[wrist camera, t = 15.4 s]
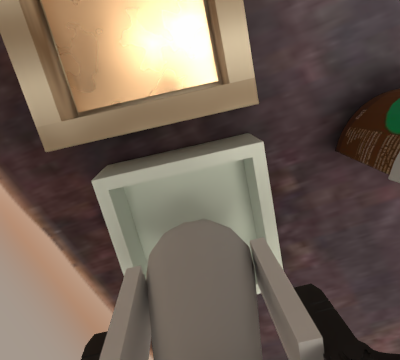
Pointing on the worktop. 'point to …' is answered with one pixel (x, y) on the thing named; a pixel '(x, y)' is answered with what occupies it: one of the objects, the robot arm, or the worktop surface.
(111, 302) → the worktop surface
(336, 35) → the worktop surface
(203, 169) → the bin
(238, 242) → the salt shaker
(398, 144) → the food container
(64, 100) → the beige square tray
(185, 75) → the plate
